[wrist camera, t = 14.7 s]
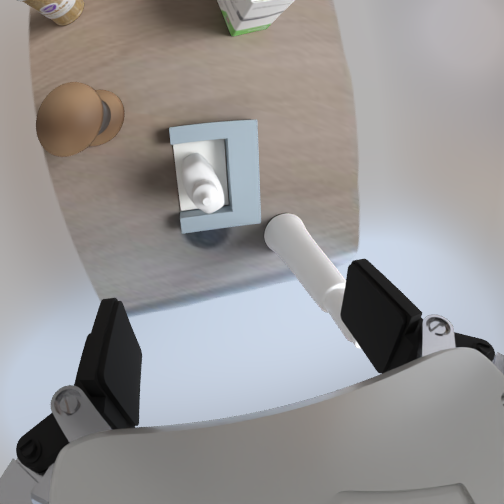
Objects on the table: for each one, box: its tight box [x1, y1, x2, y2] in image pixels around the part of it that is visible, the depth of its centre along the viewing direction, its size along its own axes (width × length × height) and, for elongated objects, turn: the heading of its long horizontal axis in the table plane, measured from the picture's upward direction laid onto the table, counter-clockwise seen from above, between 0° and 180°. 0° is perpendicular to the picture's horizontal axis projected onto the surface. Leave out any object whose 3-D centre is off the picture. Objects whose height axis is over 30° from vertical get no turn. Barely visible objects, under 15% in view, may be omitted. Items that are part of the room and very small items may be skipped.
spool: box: [36, 82, 124, 157], centre depth 23 cm, size 7×7×10 cm
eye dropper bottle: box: [182, 153, 224, 214], centre depth 28 cm, size 4×6×12 cm
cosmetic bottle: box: [264, 213, 361, 348], centre depth 30 cm, size 6×6×22 cm
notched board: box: [169, 120, 261, 234], centre depth 33 cm, size 13×10×2 cm
